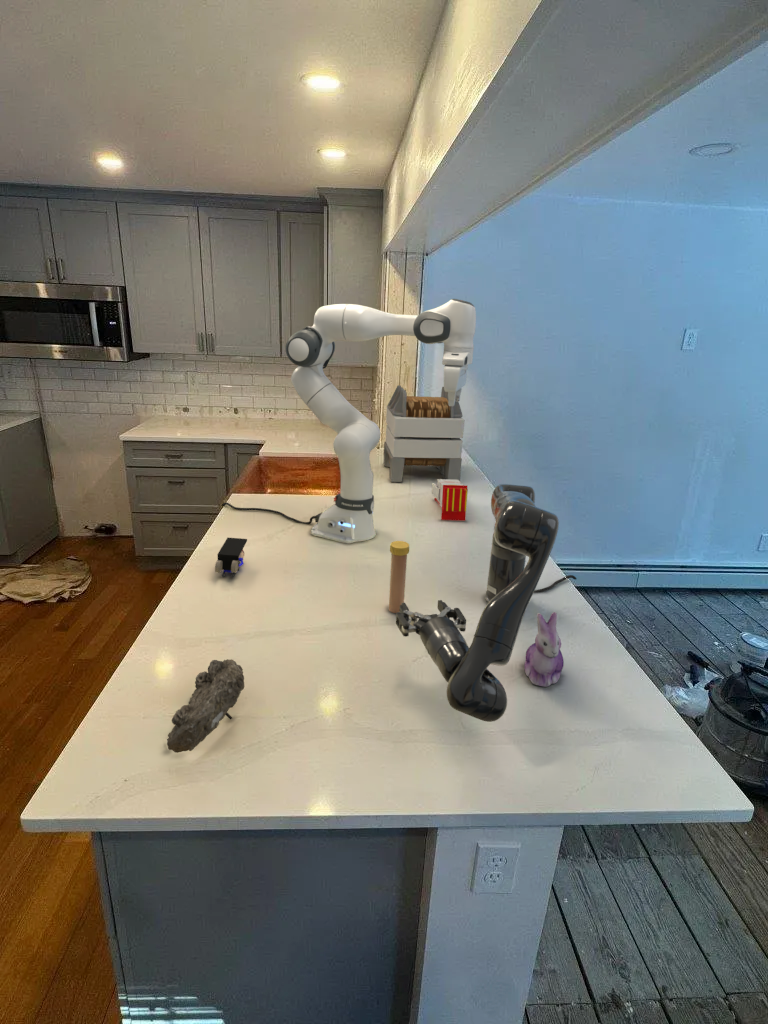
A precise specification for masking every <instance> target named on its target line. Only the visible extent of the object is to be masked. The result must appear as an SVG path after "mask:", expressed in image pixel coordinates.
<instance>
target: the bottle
mask: <svg viewBox="0 0 768 1024" xmlns="http://www.w3.org/2000/svg"><path fill="white" fill-rule="evenodd" d="M407 563H408V554H407V555H402V556H399V555H394V554H392V553H391V552H390V573H389V594H388V611H389V612H390V613H393V614H396V613H397V612H399V610H400V605H401V604H402V603H405V597H406V581H407Z"/></svg>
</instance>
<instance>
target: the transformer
mask: <svg viewBox="0 0 768 1024" xmlns="http://www.w3.org/2000/svg"><path fill="white" fill-rule="evenodd" d="M440 393H441V394H440V396H415V395H414V396H413V395H412V396H411V395H407V394H408V393H407V390H406V389H404V388H403V387H402V385H399V384H398V385H397V386H396V388H395V390H394V392H393V394H392V395H391V398H390V400H389V402H388V404H387V405H386V413H385V414H386V415H385V423H386V428H385V438H384V442H383V466H384V467H388V468H389V475H388V476H389V477H388V478H389V480H390V482H391V483H402V482H403V475H404V469H405V466H406V467H407V466H411V467H412V466H413V467H415V466H416V467H417V466H418V467H436V468H437V470H438V469H439V473H440V474H441V475H443V479H451V480H459V481H460V482H461V472H462V461H463V460H462V453H463V442H464V441H463V440H462V439H463V438H464V431H465V430H464V429H465V419H464V418H463V411H462V408H461V405H460V401H458V402H455V405H454V406H449V405H448V401H449V400H448V392H445V390H444V386H442V387H441V392H440Z"/></svg>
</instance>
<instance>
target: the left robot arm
mask: <svg viewBox="0 0 768 1024" xmlns="http://www.w3.org/2000/svg"><path fill="white" fill-rule="evenodd" d="M476 327H477V309H476V306H475V305H474V304H473V303H472V302H470V301H467V300H463V299H458V298H451V299H450V300H448V301H447V302H445V303H444V304H441V305H439V306H437V307H435V308H431V309H427V310H424V311H422V312H421V313H419V314H399V313H391V312H386V311H383V310H380V309H377V308H374V307H370V306H366V305H361V304H355V303H335V304H327V305H322V306H320V307H318V308H317V309H316V311H315V313H314V317H313V325H312V326H310V325H306V326H305V327H303V328H301V329H299V330H298V331H295V333H293V334H292V335H291V336H290V337H289V338H288V339H287V340H286V344H285V354H286V357H287V359H289V361H290V362H292V364H294V365H296V366H297V367H295V369H294V370H293V371H292V373H291V375H290V380H291V381H290V383H291V384H292V386H293V388H294V390H295V391H296V393H297V395H298V396H299V397H300V399H301V400H302V401H303V403H304V404H305V405H306V407H307V408H308V409H309V410H310V411H311V412H312V413H313V415H314V416H315V417H316V418H317V419H318V420H319V422H320V423H321V424H323V425H324V426H326V427H328V428H330V429H331V430H332V431H334V432H335V433H336V436H335V438H334V439H333V443H332V446H333V448H332V449H333V451H334V454H335V455H336V457H337V462H338V466H339V473H340V488H339V489H340V490H339V491H338V492H337V494H336V495H335V496H334V497H333V502H334V504H333V505H331V506H329V507H328V508H326V509H325V510H323V512H319V513H318V514H316V515H313V516H310V518H309V521H301V520H298V519H297V518H294V517H290V516H288V515H286V514H285V513H283V512H281V511H279V510H273V509H269V508H261V507H238V506H237V507H236V506H234V505H233V504H231V503H229V502H227V501H226V502H223V503H222V504H221V506H222V507H225V506H227V507H229V508H230V509H233V510H236V511H259V512H269V513H273V514H277V515H279V516H282V517H284V518H285V519H287V520H289V521H292V522H295V523H297V524H302V525H311V524H312V523H313V520H314V521H315V524H314V525H313V526H312V528H311V530H310V533H311V536H315V537H319V538H323V539H326V540H330V541H336V542H339V543H343V544H352V543H357V542H365V541H368V540H372V539H373V538H375V537H376V535H377V532H376V528H375V523H374V509H375V496H374V472H373V470H372V466H371V465H372V464H371V460H370V459H371V457H370V455H371V452H372V451H373V450H374V449H376V448H377V446H378V445H379V442H380V439H381V436H382V435H381V429H380V427H379V425H378V424H377V423H376V422H375V421H373V420H371V419H369V418H368V417H366V415H364V414H363V413H362V412H361V411H360V410H358V409H357V408H356V407H355V406H353V404H352V403H350V402H349V400H347V399H346V398H345V397H344V396H343V394H342V393H341V392H340V391H339V389H338V388H337V387H336V386H335V385H334V384H333V382H332V381H331V380H330V379H329V378H328V377H327V376H326V374H325V372H324V369H326V368H327V366H328V365H329V362H330V360H331V359H332V357H333V356H334V352H335V350H336V343H335V342H353V343H356V342H366V341H371V340H376V339H378V338H384V337H388V336H409V337H415V338H416V339H417V340H418V341H420V343H423V344H426V345H434V344H435V345H436V344H443V354H442V362H441V364H442V365H443V387H444V390H445V392H448V400H449V401H448V405H449V406H454V405H455V402H460V400H461V393H462V390H463V388H464V387H465V386H466V383H467V373H468V368H469V365H473V360H474V359H473V358H474V347H475V345H474V337H475V334H476Z"/></svg>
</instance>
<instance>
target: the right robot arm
mask: <svg viewBox="0 0 768 1024" xmlns="http://www.w3.org/2000/svg"><path fill="white" fill-rule="evenodd" d="M535 503H536V493H535V489H534V487H532V486H529V485H521V484H520V485H519V484H510V483H509V484H508V483H501V484H498V485H497V486H496V487H495V488H494V489H493V491H492V494H491V499H490V508H491V514H492V515H493V517H494V521H495V522H494V528H493V534H492V540H491V548H490V557H489V558H490V559H489V566H488V574H487V575H488V576H487V583H486V590H485V597H484V598H485V601H486V602H487V603H486V605H485V606H484V608H483V610H482V611H481V613H480V617H479V620H478V623H477V626H476V629H475V632H474V635H473V638H472V642H471V644H470V646H469V645H468V643H467V641H466V639H465V638H464V636H463V634H462V632H463V633H464V632H466V626H467V619H466V617H465V616H464V614H463V612H462V611H461V609H460V608H459V607H454V608H453V609H452V608H451V607H450V606H448V604H447V603H446V602H445V601H443V600H442V599H440V600H437V610H438V611H439V614H437V613H432V614H422V613H420V612H418V611H414V612H412V611H411V610H410V609H409V607H408V605H407V604H406V602H404V603H402V604H401V605H400V610H399V612H397V613H395V625H396V626H397V628H398V630H399V631H400V633H401V635H402V636H403V637H409V635H410V633H416V634H417V635H418V636H419V639H420V641H421V642H422V644H423V646H424V648H425V650H426V652H427V654H428V655H429V657H430V659H431V660H432V662H433V663H434V665H436V667H437V669H438V670H439V672H440V674H441V676H442V677H443V679H444V680H445V681H446V682H447V686H446V700H447V702H448V704H449V706H450V707H451V708H452V709H454V710H455V711H458V712H460V713H463V714H464V715H468V716H470V717H472V718H475V719H477V720H480V721H482V722H487V723H491V722H496V721H498V720H500V719H501V718H502V717H503V716H504V714H505V712H506V710H507V707H508V696H507V691H506V690H505V687H504V685H503V683H502V682H501V681H500V680H499V679H498V677H496V675H494V674H493V673H492V672H491V671H490V670H489V669H488V668H489V666H496V667H504V666H506V665H507V664H508V663H509V661H510V660H511V657H512V654H513V650H514V647H515V643H516V641H517V637H518V634H519V631H520V627H521V624H522V622H523V618H524V616H525V613H526V611H527V609H528V606H529V604H530V602H531V599H532V597H533V595H534V594H536V593H537V594H538V593H543V592H546V591H549V590H552V589H553V588H554V587H556V586H557V585H558V584H561V583H562V582H564V581H566V580H568V579H573V580H577V577H576V575H574V574H569V575H568V574H567V575H566V576H564V577H562V578H560V579H558V580H556V581H554V582H553V583H552V584H551V585H549V586H546V587H544V588H540V589H536V588H537V586H538V584H539V581H540V579H541V577H542V574H543V572H544V570H545V567H546V565H547V563H548V560H549V557H550V555H551V552H552V550H553V548H554V544H555V543H556V540H557V537H558V533H559V528H560V527H559V526H560V521H559V517H558V515H557V514H555V513H554V512H551V511H549V510H546V509H543V508H540V507H537V506H536V504H535ZM527 557H528V560H527V562H526V558H527ZM565 577H566V578H567V579H566V578H565Z"/></svg>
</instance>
